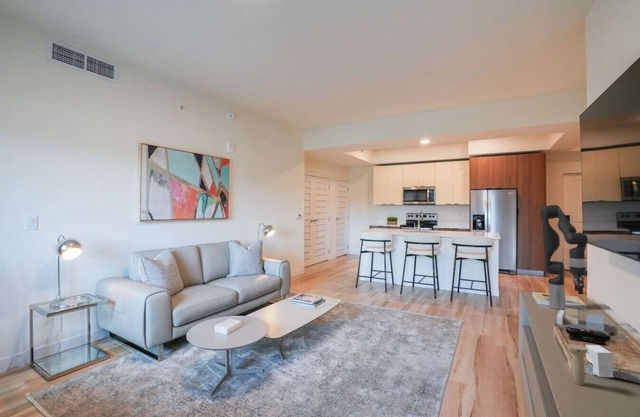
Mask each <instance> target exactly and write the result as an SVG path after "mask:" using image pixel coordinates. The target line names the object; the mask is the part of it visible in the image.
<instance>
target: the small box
mask: <svg viewBox="0 0 640 417" xmlns="http://www.w3.org/2000/svg"><path fill="white" fill-rule="evenodd" d="M584 347H586V348H587V349H588V352H587V353H585V358H586V359H587V360H588V361H589V362H590V363H592V364H593V372H592V373H593V374H594V375H596V376H598V377H599V378H614V377H615V375H614V376H613V375H612V370H613V371H614V359H613V358H614V357H613V352H611V351H610V350H607V349H606V348H605V347H603V346H601V345H598V344H585V346H584ZM586 359H585V360H586Z"/></svg>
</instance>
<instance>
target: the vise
mask: <svg viewBox="0 0 640 417" xmlns="http://www.w3.org/2000/svg"><path fill="white" fill-rule="evenodd" d="M558 310H559V311H558V313H557V315H556V321H555V322H554V326H555V325H564V326H569V327H575V328H582V329H587V328H586V320H584V319H583V320H582V319H579V324H573V323H567V322H566V321H565V309H558ZM591 330H592V329H591ZM604 332H606V333H609V334H610V324H606V323H605V327H604Z"/></svg>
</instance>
